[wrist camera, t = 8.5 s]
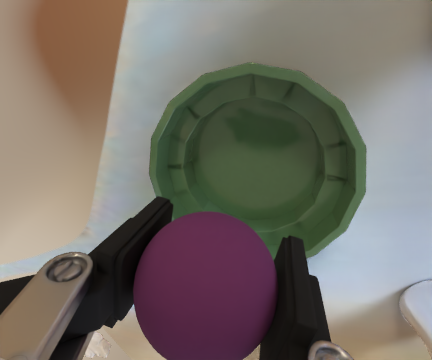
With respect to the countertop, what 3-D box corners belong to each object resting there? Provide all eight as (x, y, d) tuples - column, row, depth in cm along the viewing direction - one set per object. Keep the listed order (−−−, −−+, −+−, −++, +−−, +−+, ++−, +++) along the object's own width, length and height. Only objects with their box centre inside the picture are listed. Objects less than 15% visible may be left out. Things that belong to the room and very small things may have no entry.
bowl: (185, 54, 19) (156, 44, 15) (380, 91, 17) (417, 93, 12) (168, 208, 25) (144, 234, 21) (308, 251, 23) (315, 291, 18)
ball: (177, 176, 10) (94, 250, 5) (293, 209, 9) (310, 327, 5) (166, 263, 12) (99, 369, 7) (261, 295, 11) (250, 436, 7)
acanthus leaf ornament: (90, 316, 38) (81, 327, 36) (118, 344, 39) (111, 356, 37) (67, 328, 41) (58, 339, 39) (94, 354, 42) (86, 365, 40)
